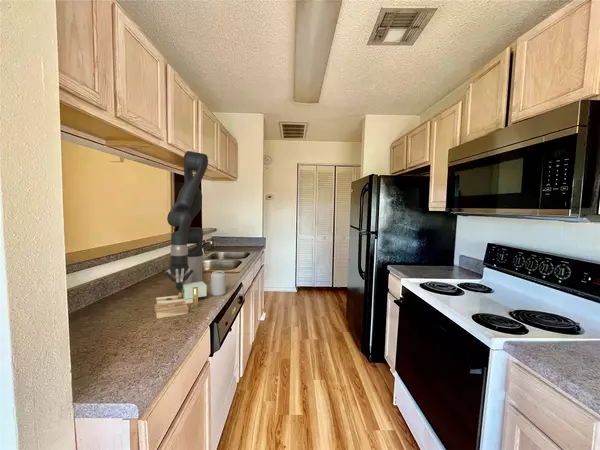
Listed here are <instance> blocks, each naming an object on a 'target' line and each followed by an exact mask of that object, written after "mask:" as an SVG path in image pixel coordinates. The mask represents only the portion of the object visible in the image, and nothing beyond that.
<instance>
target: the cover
mask: <svg viewBox="0 0 600 450" xmlns="http://www.w3.org/2000/svg"><path fill="white" fill-rule="evenodd" d="M194 287H198V298H202V297H207V287H208V286H207V284H206V283H205V282H204V281H203V280H202V282H193V283H185V282H183V288H182V289H181V292H182V295H183V294H184V299H189V298H193V288H194Z"/></svg>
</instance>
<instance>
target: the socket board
mask: <svg viewBox="0 0 600 450" xmlns="http://www.w3.org/2000/svg"><path fill="white" fill-rule="evenodd" d="M154 312H155V317H156V319H158V320H159V319H164V318H168V317H169V318H170V317H175V316H180V315H188V314H189V306H188V303H187V304H186V303H185V301H178V302H171V303H164V304H157V303H156V304H154Z"/></svg>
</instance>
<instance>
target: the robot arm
mask: <svg viewBox="0 0 600 450" xmlns="http://www.w3.org/2000/svg"><path fill="white" fill-rule="evenodd" d="M208 165H209V157H208V155H207V154H205V153H202V152H196V151H190V150H187V151H186V152H185V153H184V155H183V177H184V178H183V181H184V184H183V186H182V187H181V188H180V190H179V193H178V195H177V199H176V202H175V203H174V204H173V206H172V207H171V209H170V211H169V212H168V214H167V217H166V218H167V223H168V225H169V226H171V227H178V230H177V231H174V232H172V233H171V235H170V245H171V246H170V265H169V269H167V270H165V271H164V274H165V275H166V276H167V277H168V278H169V280H170V281H171V282H173V283H175V288H176V290H177V291H182V288H183V284H184V283H193V282H202V281H203V240H204V231H203V229H202V227H191V225H192V222H193V220H194V218H195V217H196V216H197V215H198V213H199V212H200V210H201V209H202V206H203V194H202V191H201V189H200V187H199V186H200V184H201V182H202V181H203V178H204V175H205V173H206V171H207V168H208ZM193 171H194V172H195V174H194V173H193ZM193 244H194V245H195V244H196V245H195V246H193V247H191V248H189V247H188V245H193ZM171 274H173V275H174V277H175V278H174V277H173V276H172V275H171Z"/></svg>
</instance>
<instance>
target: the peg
mask: <svg viewBox="0 0 600 450" xmlns="http://www.w3.org/2000/svg"><path fill="white" fill-rule="evenodd" d="M198 308H199V297H198V287H194V288H193V303H192V309H198Z"/></svg>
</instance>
